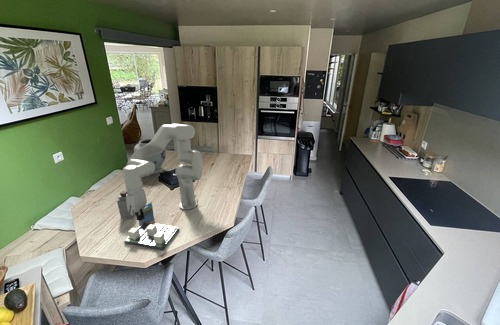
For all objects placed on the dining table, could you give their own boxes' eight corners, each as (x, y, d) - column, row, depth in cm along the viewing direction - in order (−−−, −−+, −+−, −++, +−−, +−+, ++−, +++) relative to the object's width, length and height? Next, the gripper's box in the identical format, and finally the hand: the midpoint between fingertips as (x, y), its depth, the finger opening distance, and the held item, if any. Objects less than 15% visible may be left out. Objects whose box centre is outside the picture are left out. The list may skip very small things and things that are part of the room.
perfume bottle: (126, 212, 162) (121, 189, 156) (136, 213, 162) (131, 189, 156) (121, 218, 156) (115, 194, 149) (131, 218, 156) (126, 194, 149)
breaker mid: (151, 231, 142) (150, 223, 140) (157, 232, 141) (156, 224, 139) (147, 235, 138) (145, 228, 136) (153, 236, 137) (152, 229, 135)
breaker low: (134, 234, 139) (132, 227, 137) (140, 235, 138) (138, 228, 136) (129, 238, 135) (127, 231, 133) (135, 240, 134) (134, 232, 132)
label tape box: (150, 216, 159) (147, 200, 154) (154, 218, 157) (151, 202, 152) (138, 223, 152) (135, 206, 147) (143, 225, 150) (139, 208, 145)
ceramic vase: (171, 172, 224) (167, 142, 213) (141, 179, 210) (135, 147, 199) (163, 163, 244) (159, 135, 233) (135, 169, 230) (129, 139, 219)
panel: (144, 224, 151) (143, 220, 150) (179, 230, 146) (178, 226, 145) (124, 243, 134) (123, 239, 133) (163, 250, 130) (162, 246, 129)
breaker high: (158, 238, 135) (157, 231, 134) (165, 239, 135) (164, 232, 133) (154, 243, 132) (153, 236, 130) (161, 244, 131) (160, 237, 129)
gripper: (138, 181, 128) (143, 210, 135) (117, 195, 114) (124, 227, 121) (150, 183, 127) (155, 212, 134) (131, 197, 113) (137, 229, 120)
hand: (140, 219), depth 127 cm, fingers closed
